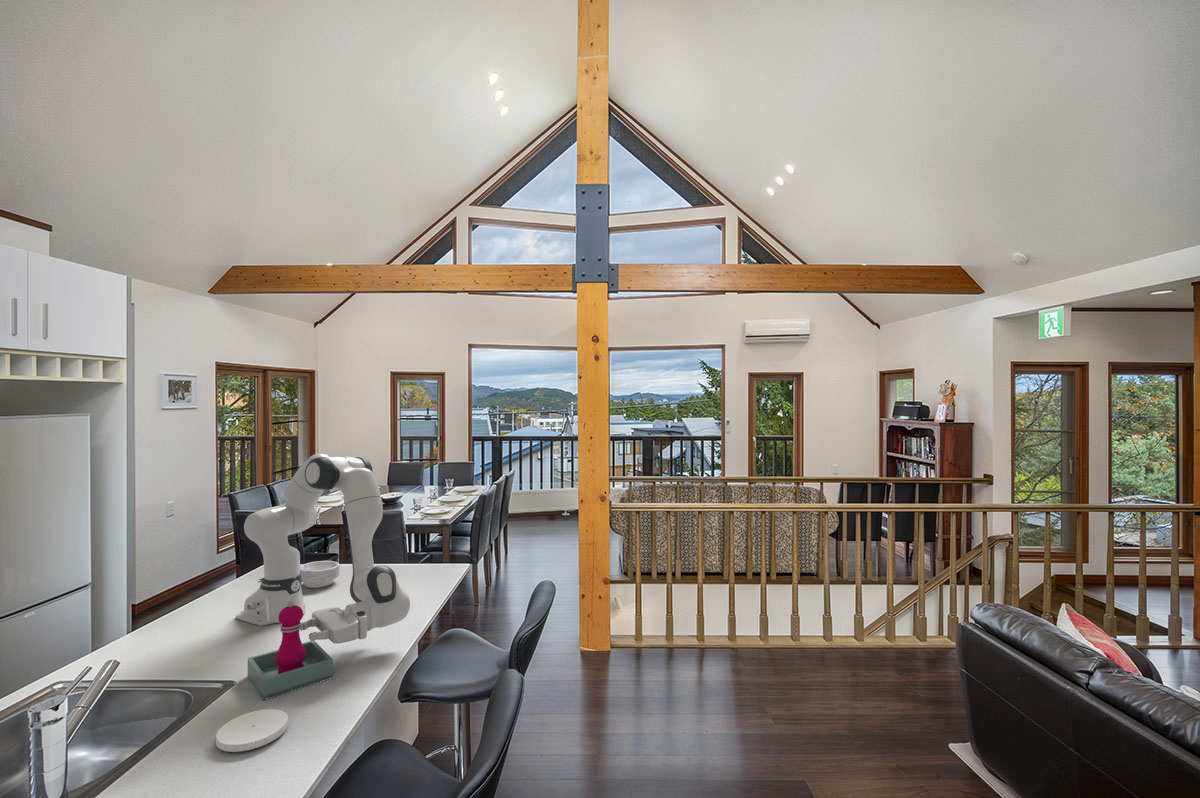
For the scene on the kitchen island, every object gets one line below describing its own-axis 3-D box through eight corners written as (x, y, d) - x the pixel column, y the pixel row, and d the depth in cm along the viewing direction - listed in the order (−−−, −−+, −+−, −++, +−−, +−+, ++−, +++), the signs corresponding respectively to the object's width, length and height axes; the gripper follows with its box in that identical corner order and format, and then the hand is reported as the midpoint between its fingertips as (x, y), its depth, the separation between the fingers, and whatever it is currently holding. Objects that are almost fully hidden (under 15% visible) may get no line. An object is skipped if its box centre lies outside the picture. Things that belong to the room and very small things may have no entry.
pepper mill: (311, 669, 158) (311, 597, 158) (289, 681, 151) (289, 606, 151) (291, 665, 161) (291, 594, 161) (269, 677, 154) (269, 603, 154)
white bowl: (347, 582, 235) (347, 563, 235) (312, 593, 222) (312, 573, 222) (325, 576, 243) (325, 558, 243) (290, 586, 230) (290, 567, 230)
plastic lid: (214, 733, 130) (214, 722, 130) (283, 713, 139) (282, 702, 139) (218, 765, 119) (218, 753, 119) (292, 740, 128) (292, 729, 128)
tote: (247, 676, 156) (247, 658, 156) (313, 656, 168) (313, 640, 168) (263, 700, 144) (263, 680, 144) (333, 677, 156) (333, 659, 156)
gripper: (342, 599, 175) (293, 610, 166) (368, 617, 160) (315, 631, 151) (342, 619, 175) (293, 632, 166) (368, 640, 161) (315, 655, 151)
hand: (304, 632), depth 158 cm, fingers open, 8 cm apart
